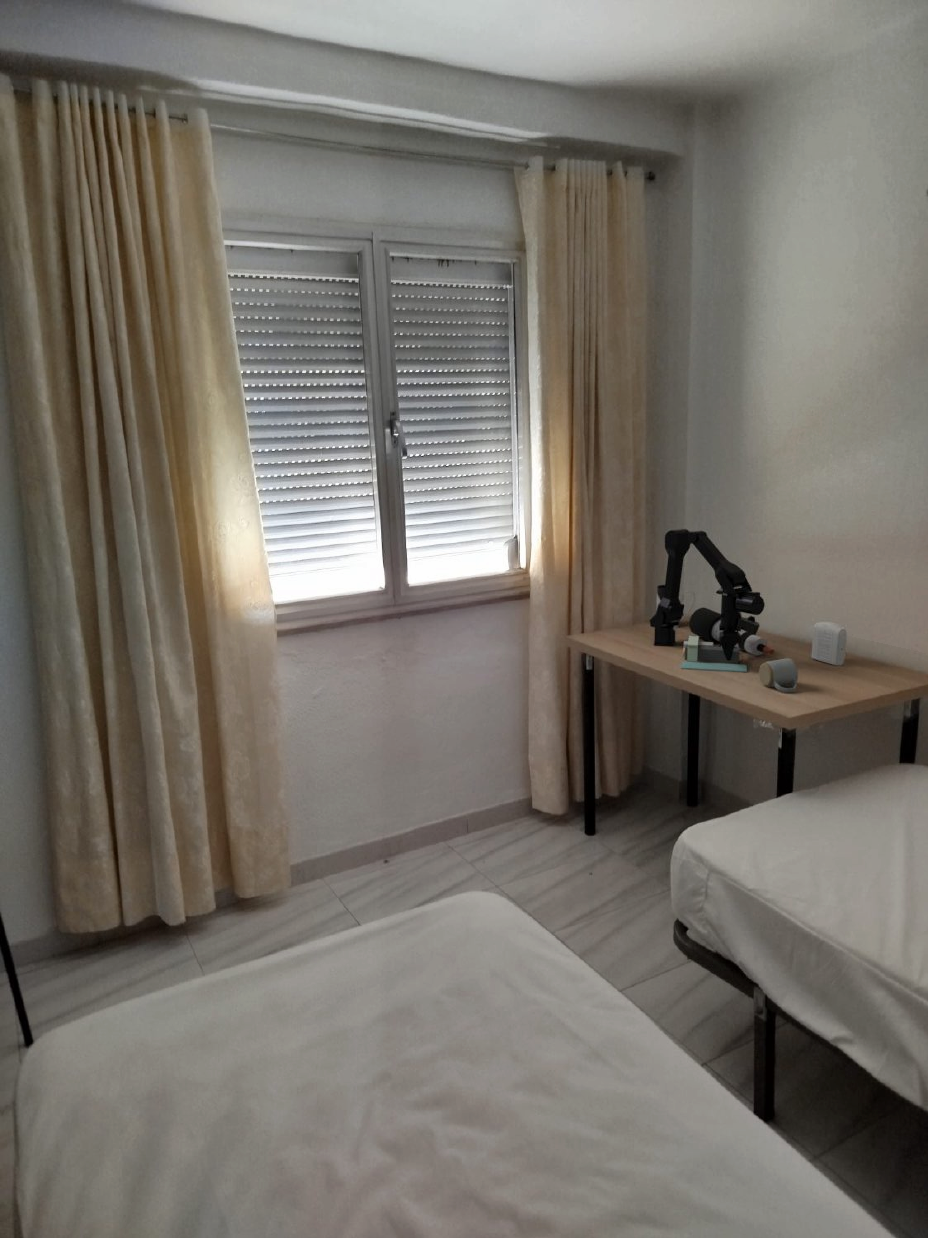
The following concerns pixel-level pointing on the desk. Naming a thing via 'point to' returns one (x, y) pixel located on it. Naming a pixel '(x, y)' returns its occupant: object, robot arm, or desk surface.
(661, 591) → the glass holder
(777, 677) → the ceramic mug
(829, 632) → the photo printer
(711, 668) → the mat
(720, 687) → the desk surface
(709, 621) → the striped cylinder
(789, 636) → the desk surface
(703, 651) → the dark gray bar
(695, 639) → the light grey piece
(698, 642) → the block
